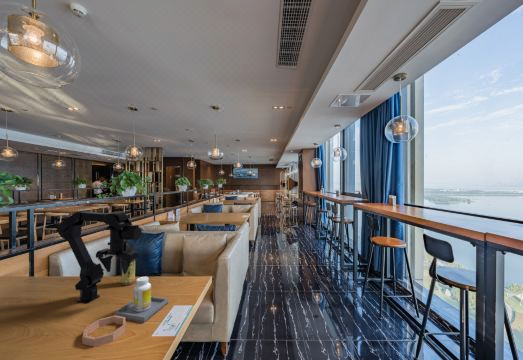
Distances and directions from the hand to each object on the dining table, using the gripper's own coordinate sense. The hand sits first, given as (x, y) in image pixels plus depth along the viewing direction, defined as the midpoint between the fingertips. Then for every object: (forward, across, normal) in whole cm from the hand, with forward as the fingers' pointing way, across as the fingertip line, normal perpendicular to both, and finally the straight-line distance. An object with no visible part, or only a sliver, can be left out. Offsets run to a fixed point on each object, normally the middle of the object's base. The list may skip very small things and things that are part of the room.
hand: (116, 272), depth 104 cm
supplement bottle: (+13, -17, +3) cm, 21 cm away
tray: (+13, -17, +3) cm, 22 cm away
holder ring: (+13, -15, +19) cm, 28 cm away
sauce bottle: (+13, +9, -16) cm, 23 cm away
